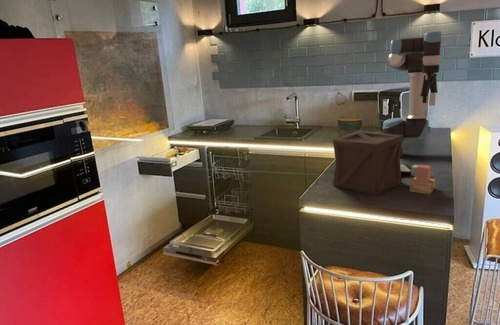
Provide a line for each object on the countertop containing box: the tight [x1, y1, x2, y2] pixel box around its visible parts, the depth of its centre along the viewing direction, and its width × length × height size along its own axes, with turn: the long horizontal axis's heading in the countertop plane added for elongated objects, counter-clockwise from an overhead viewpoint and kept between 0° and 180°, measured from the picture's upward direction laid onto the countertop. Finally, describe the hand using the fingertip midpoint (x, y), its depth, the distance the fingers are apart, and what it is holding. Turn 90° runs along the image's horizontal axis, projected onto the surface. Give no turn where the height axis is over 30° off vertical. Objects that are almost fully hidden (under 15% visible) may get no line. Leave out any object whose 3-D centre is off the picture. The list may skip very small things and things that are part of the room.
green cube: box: [410, 164, 420, 177], centre depth 206 cm, size 5×5×5 cm
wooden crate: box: [332, 130, 404, 197], centre depth 195 cm, size 25×25×25 cm
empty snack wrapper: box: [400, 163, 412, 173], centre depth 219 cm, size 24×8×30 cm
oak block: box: [409, 176, 436, 195], centre depth 184 cm, size 9×9×5 cm
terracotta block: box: [415, 164, 432, 183], centre depth 183 cm, size 5×5×7 cm
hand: (428, 107), depth 194 cm, fingers open, 13 cm apart
